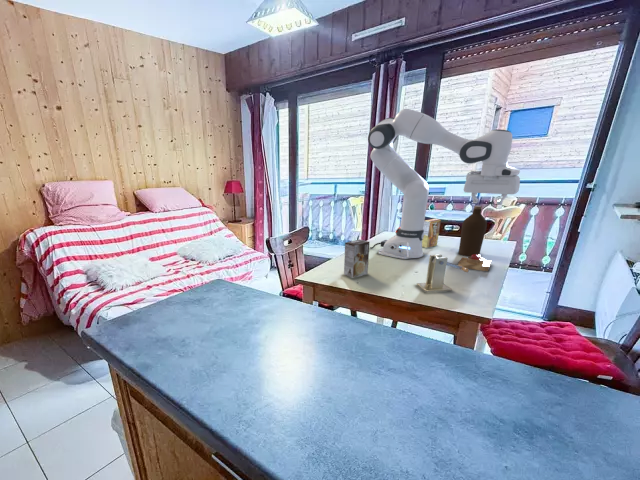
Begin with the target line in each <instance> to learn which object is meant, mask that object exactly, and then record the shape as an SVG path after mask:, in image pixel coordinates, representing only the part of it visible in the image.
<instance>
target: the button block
mask: <svg viewBox="0 0 640 480" xmlns="http://www.w3.org/2000/svg"><path fill="white" fill-rule="evenodd" d="M457 265H461V266H463V267H465V268H467V269H468V270H476V271H483V272H488V271H489V270H490V268H491V265H492V260H487V259H485V258H484V257H482V256H481V258H480V259H479V260H476V259H471V256H467V257H464V256H463V257H461V259H460V260H459V261H458V263H457Z"/></svg>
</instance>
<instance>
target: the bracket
mask: <svg viewBox="0 0 640 480" xmlns="http://www.w3.org/2000/svg"><path fill="white" fill-rule="evenodd" d="M435 256H436V257H439V258H435V261H434V263H433V262H432V261H433V259H434V257H435ZM447 262H448V257H446V256H444V257H443V254H439V253H438V254H430V255H429V260H428V265H427V273H426V278H425V279H426V280H425V282H417V283H416V285H417V286H419V287H420V288H421V289H422V290H423V291H425V293H426V292H448V291H452V288H451V287H449V286H448V285H447V284H445V283H444V281H445V277H446V270H447V266H448V265H447Z"/></svg>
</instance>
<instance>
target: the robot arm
mask: <svg viewBox="0 0 640 480" xmlns="http://www.w3.org/2000/svg"><path fill="white" fill-rule="evenodd" d="M399 136H403V137H405V138H407V139H409V140H411V141H413V142H416V143H421V144H425V145H437V146H441V147H443V148H445V149H448V150H450V151H452V152H454V153H456V154H457V155H458V156H459V158H460V160H461V161H462V163H465V164H469V165H471V164H476V163H479V162H482V165H481V170H471V171H470V172H467V174H466V176H465V182H464V185H463V192H464V193H467V194H468V193H469V194H471V198H472V204H478V203H479V200H480V199H479V198H477V195H478V194H494V195H495V194H496V195H500V197H501V198H500V199H499V200H498V199H497V201H496V205H497V206H501V205H503V202H504V200H505V199H506V198H507V197H508V195H516V194H517V193H519V190H520V185H521V184H520V183H521V178H520V176H519V174H520V173H521V170H520V169H519V168H517V167H516V168H515V167H512V166H509V165H508V164H509V156H510V153H511V151H512V145H513V133H512V132H511V131H510V130H508V129H507V130H506V129H497V128H495V129H491V130H490V131H489V132H487V133H485V134H483V135H481V136H479V137H476V138H473V139H468V138H464V137H462V136H459V135H458V134H456V133H453V132H451V131H449V130H447V129H446V128H445V127H444V126H443V125H442V124H441V123H440V122H439V121H438V120H436V119H435V118H434V117H432V116H431V115H428V114H425V113H424V112H421V111H418V110H415V109H409V108H403V109H401V110H400V111H398V112H397V113H396V115H395V116H394V117H387V118H384V119H382V120H380V121H379V122H378V123H376V125H375V126H373V127H372V128H371V129H370V131H369V132H368V135H367V142H368V145H369V146H370V147H371V148H372V150H371V152H370V157H369V158H370V160H371V161H372V163H373V165H374V166H375V167H376V168H377V169H378V171H379V172H380V173H381V174H382V175H383V176H384V177H385V178H386V179H387V180H388V181H389V182H390V183H391V184H392V185H393V186H395V187H396V188H397V189H398V190H399V191H400V192H402V194H403V199H402V209H401V210H402V211H401V218H400V219H401V220H400V226H398V228H397V229H395V235H393V236H392V237H390V238H388V239H384V240H382V241H380V242H377V243H375V244H374V245H372V247H371V246H369V250H372V249H374V248H375V247H376V246H378V245H380V247H381V248H380V249H379V250H378V252H377V253H378V255H381V256H386V257H391V258H397V259H402V260H408V259H418V258H422V257H424V252H423V247H422V240H423V237H424V229H423V228H424V221H425V220H426V212H427V207H428V202H429V201H428V200H429V195H430V189H429V188H430V187H429V185H428V183H427V181H426V180H425V179H424V178H423V177H422V176H421V175H420V174H419V173H418V172H417V170H415V169H414V168H413V167H411V166H410V164H409V163H408V162H407V161H405V159H404V158H403V157H402V156H401V155H400V153H398V152H397V151H396V150H395V149H394V147H393V145H394V144H395V143H396V140H397V139H398V137H399Z"/></svg>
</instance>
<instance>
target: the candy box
mask: <svg viewBox="0 0 640 480" xmlns="http://www.w3.org/2000/svg"><path fill="white" fill-rule="evenodd" d="M441 223H442V219H440V218H432V219H425V220H424V228H423V229H424V237H423V240H422V248H424V249H429V248H432V247H436V246H438V242H439V241H438V240H439V236H440V235H439V234H440V229H441Z"/></svg>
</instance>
